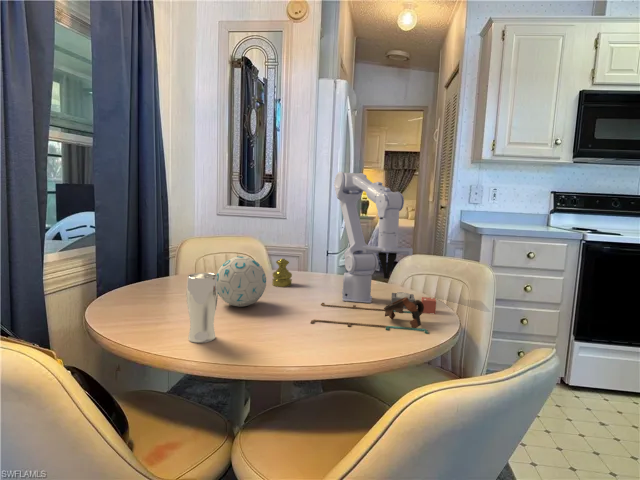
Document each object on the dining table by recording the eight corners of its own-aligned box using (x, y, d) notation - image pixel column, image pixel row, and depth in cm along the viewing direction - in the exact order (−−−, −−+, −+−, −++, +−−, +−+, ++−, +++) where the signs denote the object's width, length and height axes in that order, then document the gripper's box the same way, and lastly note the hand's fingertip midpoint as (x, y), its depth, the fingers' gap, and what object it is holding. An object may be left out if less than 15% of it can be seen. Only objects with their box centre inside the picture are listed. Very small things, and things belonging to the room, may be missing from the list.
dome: (395, 304, 129) (396, 294, 129) (395, 300, 134) (396, 290, 133) (409, 305, 129) (410, 295, 128) (409, 301, 133) (409, 291, 133)
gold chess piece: (280, 281, 159) (281, 256, 158) (295, 285, 154) (296, 258, 153) (267, 284, 153) (268, 258, 152) (282, 288, 148) (283, 261, 147)
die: (421, 312, 124) (422, 299, 123) (420, 309, 128) (421, 296, 127) (435, 314, 123) (436, 300, 123) (433, 310, 127) (434, 297, 126)
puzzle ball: (227, 297, 133) (228, 251, 131) (272, 301, 130) (273, 254, 128) (206, 310, 118) (206, 258, 116) (256, 314, 115) (257, 262, 114)
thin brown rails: (310, 323, 109) (310, 322, 109) (321, 303, 130) (322, 302, 130) (428, 333, 105) (428, 332, 105) (421, 311, 125) (421, 310, 125)
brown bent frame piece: (408, 334, 106) (394, 304, 107) (387, 338, 113) (374, 311, 115) (437, 316, 112) (424, 288, 113) (415, 321, 120) (403, 296, 121)
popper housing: (391, 307, 128) (392, 297, 128) (391, 301, 135) (391, 292, 135) (414, 309, 127) (414, 299, 127) (412, 303, 134) (413, 294, 134)
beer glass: (190, 333, 98) (190, 272, 97) (219, 333, 99) (220, 272, 97) (183, 343, 92) (183, 278, 90) (214, 344, 92) (215, 279, 91)
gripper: (363, 232, 118) (361, 278, 119) (414, 234, 116) (411, 281, 117) (364, 230, 125) (362, 274, 126) (412, 232, 122) (410, 277, 124)
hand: (386, 277), depth 122 cm, fingers closed
